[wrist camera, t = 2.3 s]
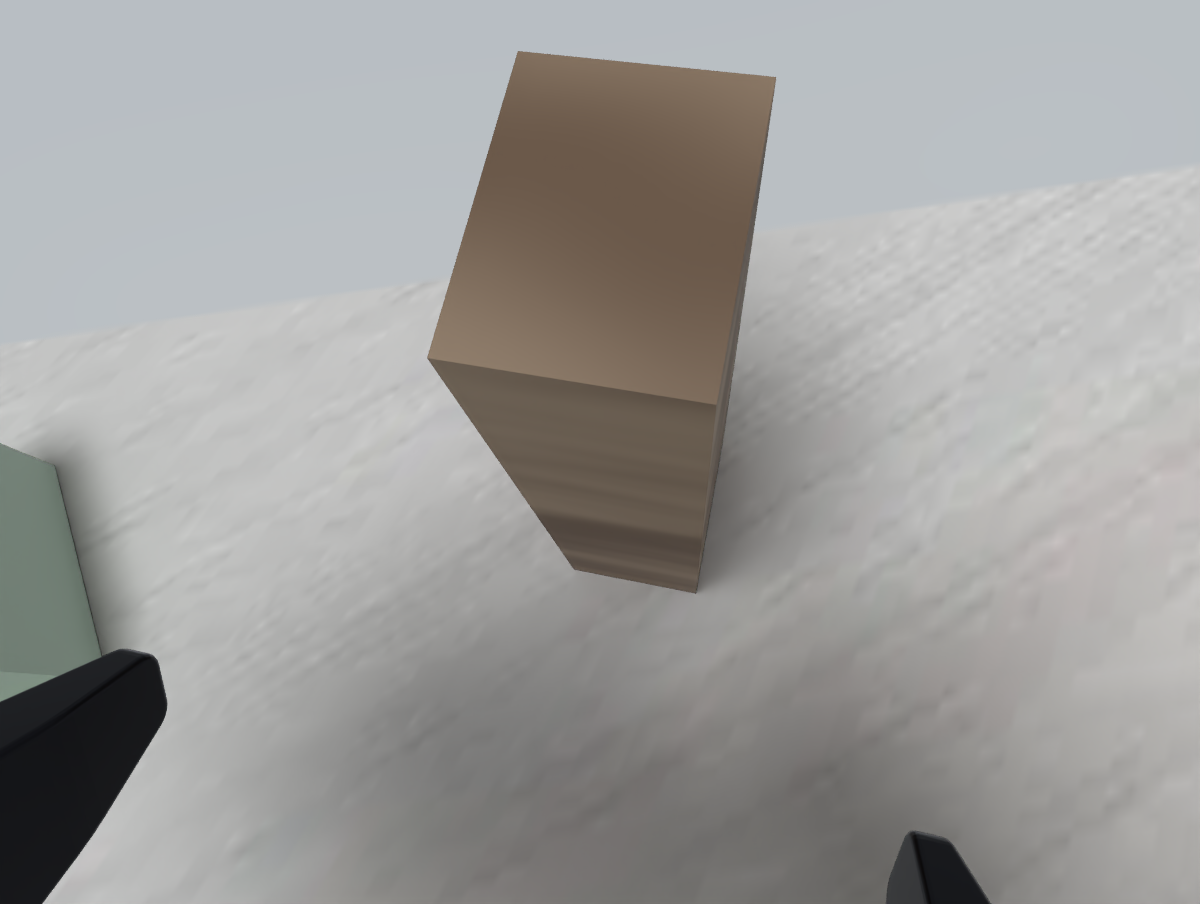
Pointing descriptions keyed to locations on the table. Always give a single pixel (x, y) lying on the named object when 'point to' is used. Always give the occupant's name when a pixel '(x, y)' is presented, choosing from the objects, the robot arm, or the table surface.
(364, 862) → the table surface
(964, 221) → the table surface
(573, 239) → the walnut block
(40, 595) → the slotted rack
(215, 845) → the table surface
